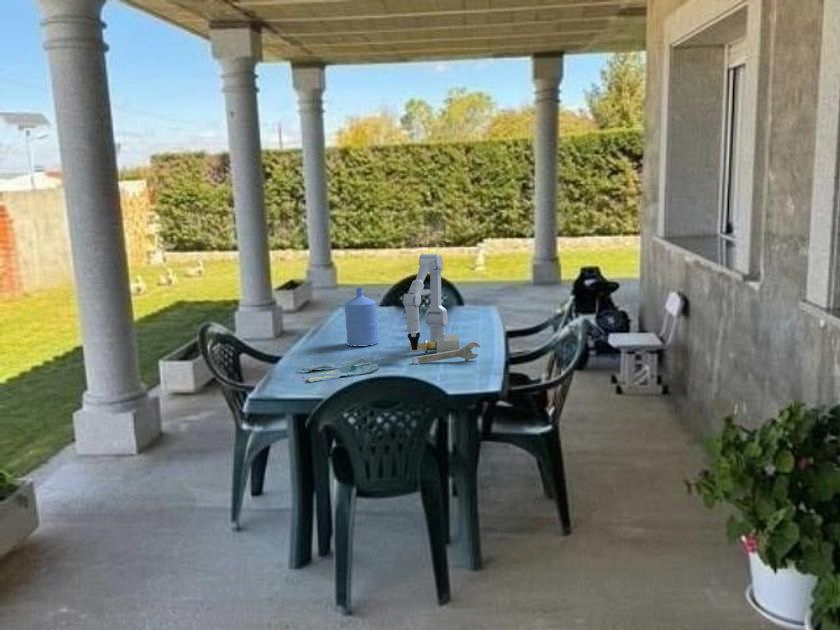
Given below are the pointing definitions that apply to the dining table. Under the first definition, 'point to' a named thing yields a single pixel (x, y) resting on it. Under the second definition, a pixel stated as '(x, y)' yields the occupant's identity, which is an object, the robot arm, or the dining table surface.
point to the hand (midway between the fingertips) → (414, 349)
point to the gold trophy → (425, 346)
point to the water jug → (361, 320)
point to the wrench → (451, 354)
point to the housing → (447, 343)
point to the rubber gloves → (344, 369)
